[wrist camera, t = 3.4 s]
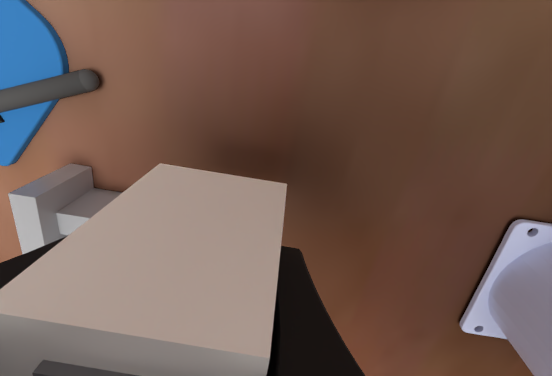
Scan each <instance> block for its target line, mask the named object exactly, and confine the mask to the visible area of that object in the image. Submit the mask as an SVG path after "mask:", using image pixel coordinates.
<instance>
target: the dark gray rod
mask: <svg viewBox="0 0 552 376" xmlns="http://www.w3.org/2000/svg"><path fill="white" fill-rule="evenodd" d="M98 85H99V79H98V77H97V75H96V74H95V73H94V72H92V71H90V70H87V69H83V70H78V71H74V72H70V73H66V74H62V75H58V76H54V77H50V78H46V79H42V80H38V81H34V82H30V83H26V84H22V85H18V86H14V87H10V88H6V89H2V90H0V113H1V112H6V111H10V110H14V109H18V108H23V107H27V106H31V105H35V104H39V103H44V102H48V101H52V100H56V99H61V98H65V97H69V96H73V95H78V94H82V93H86V92H90V91H93V90H95V89H97V87H98Z"/></svg>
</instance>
